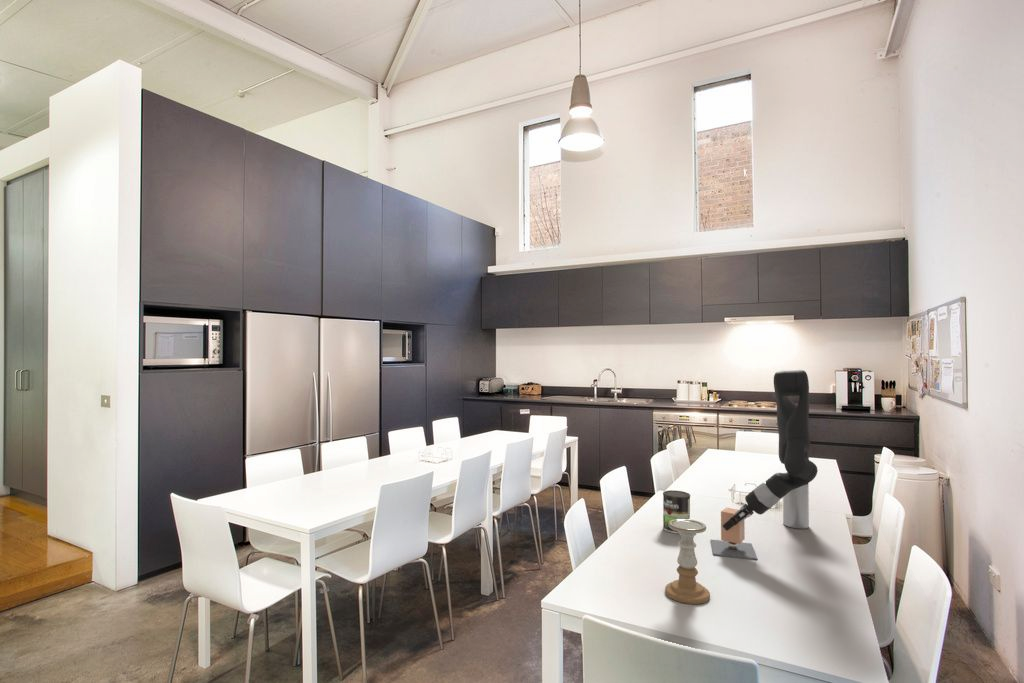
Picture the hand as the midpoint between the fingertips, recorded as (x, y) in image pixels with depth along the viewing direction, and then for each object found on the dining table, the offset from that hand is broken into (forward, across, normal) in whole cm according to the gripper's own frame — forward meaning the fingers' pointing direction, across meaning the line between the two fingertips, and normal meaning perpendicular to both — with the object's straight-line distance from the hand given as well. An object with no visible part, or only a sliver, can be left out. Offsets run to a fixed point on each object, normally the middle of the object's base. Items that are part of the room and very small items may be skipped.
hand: (727, 525), depth 191 cm
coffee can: (+22, -9, -10) cm, 25 cm away
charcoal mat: (+5, 0, +7) cm, 8 cm away
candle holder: (+5, +45, +7) cm, 46 cm away
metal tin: (+5, 0, +7) cm, 8 cm away
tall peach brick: (+2, 0, +4) cm, 5 cm away
